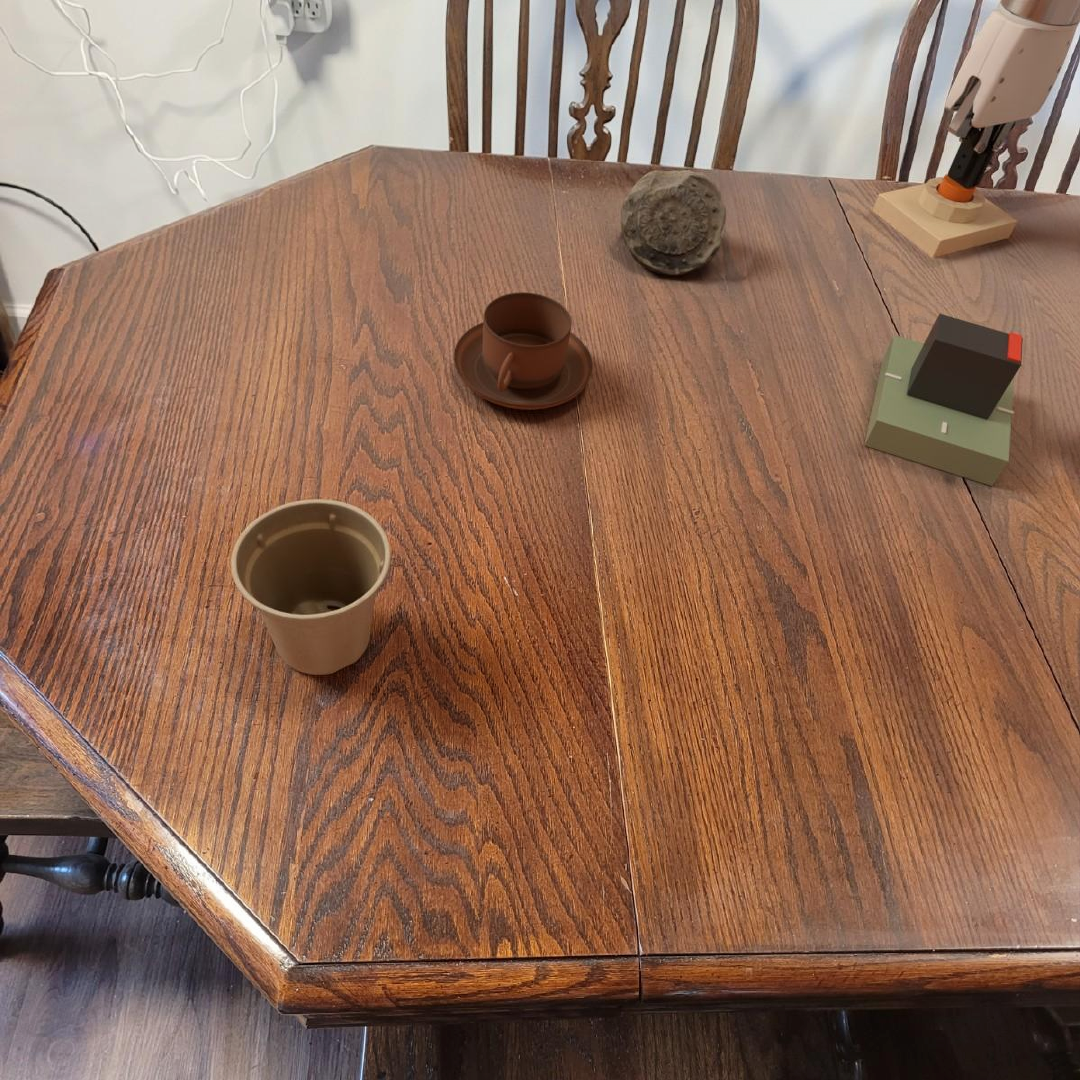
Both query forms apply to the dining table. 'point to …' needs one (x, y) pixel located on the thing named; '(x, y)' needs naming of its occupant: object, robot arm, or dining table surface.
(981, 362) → the black block
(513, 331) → the cup and saucer
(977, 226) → the box
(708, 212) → the fossil
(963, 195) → the button
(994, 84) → the robot arm
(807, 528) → the dining table surface
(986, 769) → the dining table surface
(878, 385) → the stand
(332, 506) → the flower pot
